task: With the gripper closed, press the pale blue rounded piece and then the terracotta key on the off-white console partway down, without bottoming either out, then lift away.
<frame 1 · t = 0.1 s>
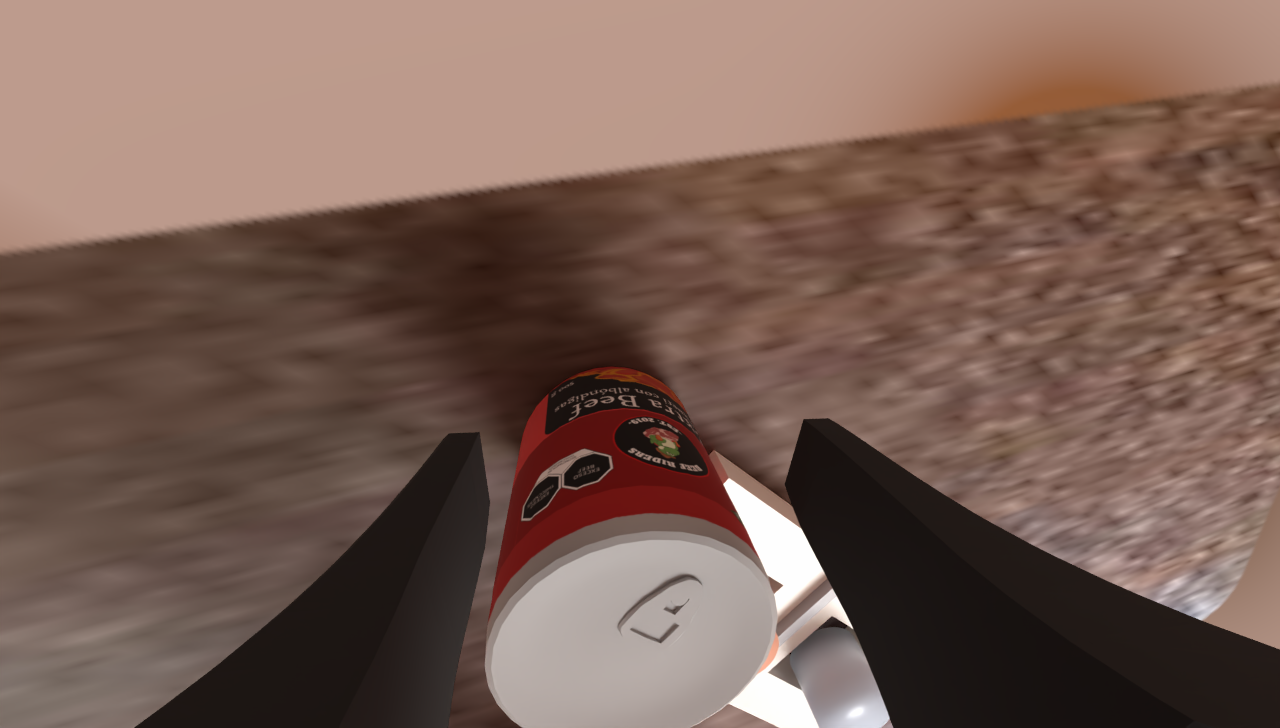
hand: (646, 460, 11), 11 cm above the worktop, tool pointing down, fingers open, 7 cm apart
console: (758, 594, 27), on the worktop
canned food: (605, 435, 23), on the worktop
key terracotta: (723, 618, 23), point 4 cm above the worktop, slide at 0.0 cm
pale blue rounded piece: (838, 682, 26), point 4 cm above the worktop, slide at 0.0 cm
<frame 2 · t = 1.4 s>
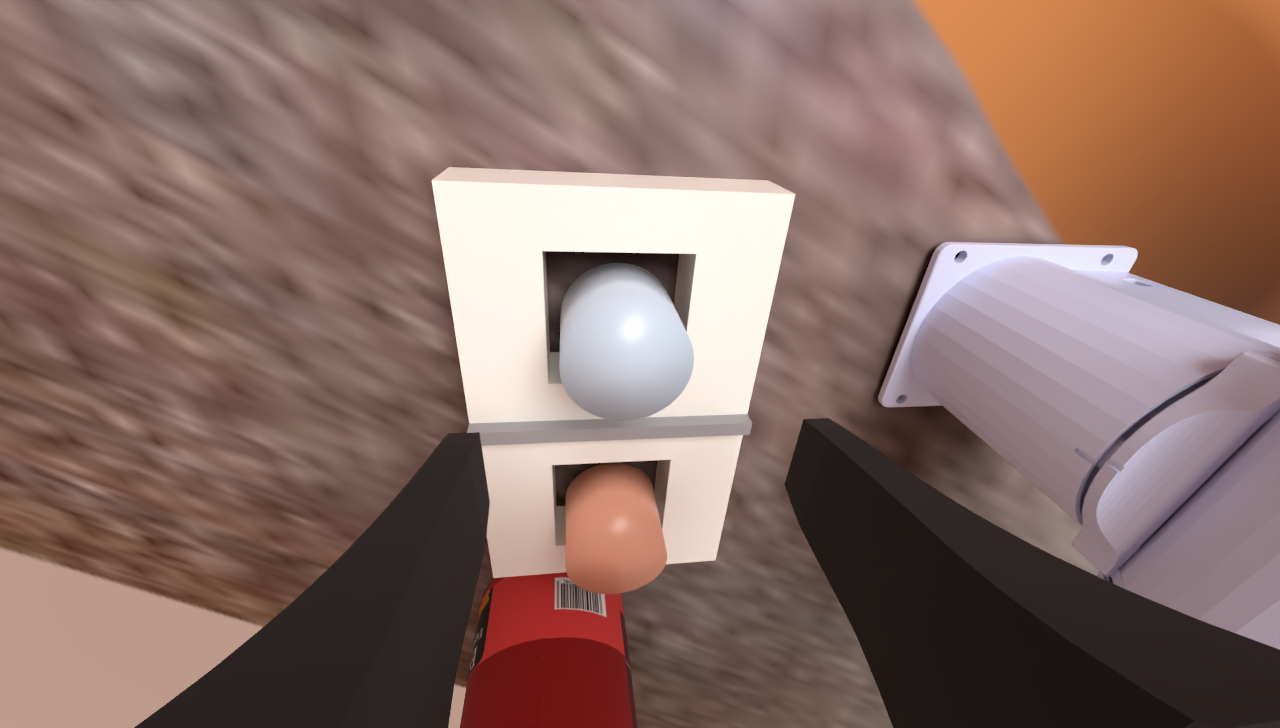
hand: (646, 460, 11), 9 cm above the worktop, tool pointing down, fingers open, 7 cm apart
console: (609, 390, 21), on the worktop
canned food: (552, 590, 28), on the worktop
key terracotta: (613, 527, 20), point 4 cm above the worktop, slide at 0.0 cm
pale blue rounded piece: (621, 339, 15), point 4 cm above the worktop, slide at 0.0 cm
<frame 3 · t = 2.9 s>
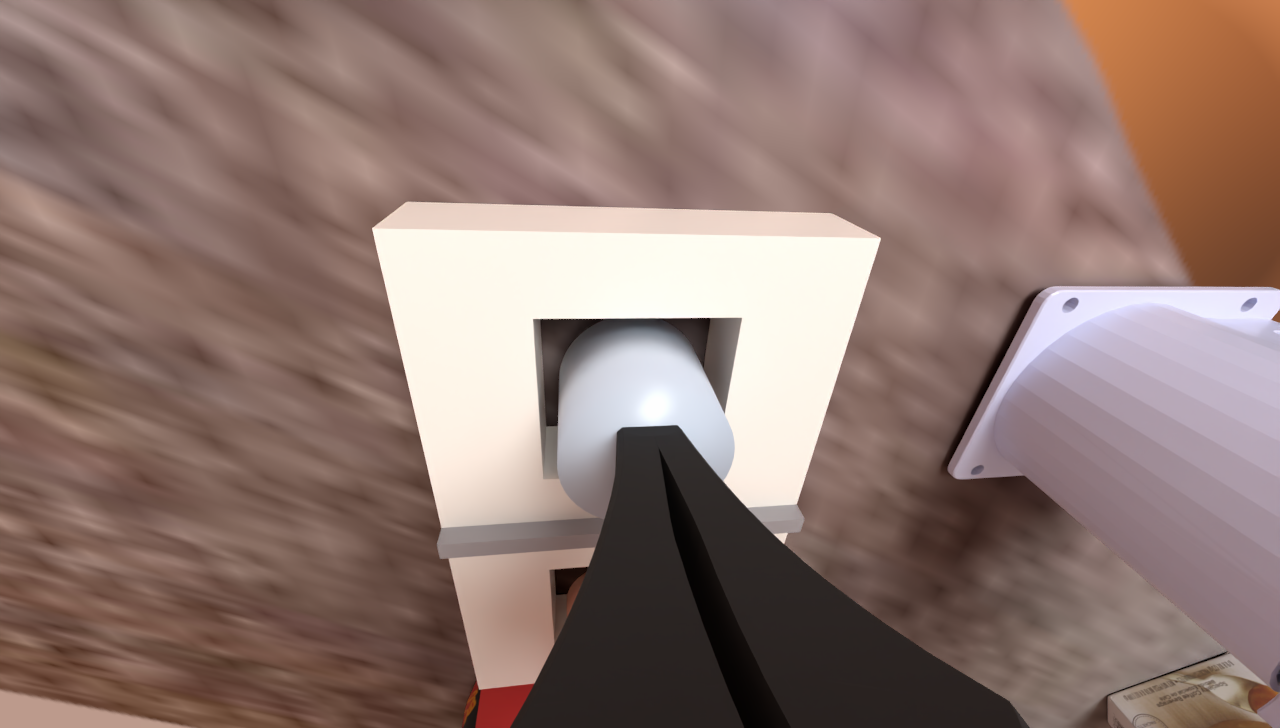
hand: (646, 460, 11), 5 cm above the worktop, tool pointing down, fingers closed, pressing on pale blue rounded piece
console: (620, 468, 17), on the worktop
coffee box: (1162, 684, 36), on the worktop
canned food: (552, 679, 24), on the worktop
key terracotta: (626, 643, 16), point 4 cm above the worktop, slide at 0.0 cm
pale blue rounded piece: (637, 414, 12), point 3 cm above the worktop, slide at 0.8 cm, touching gripper
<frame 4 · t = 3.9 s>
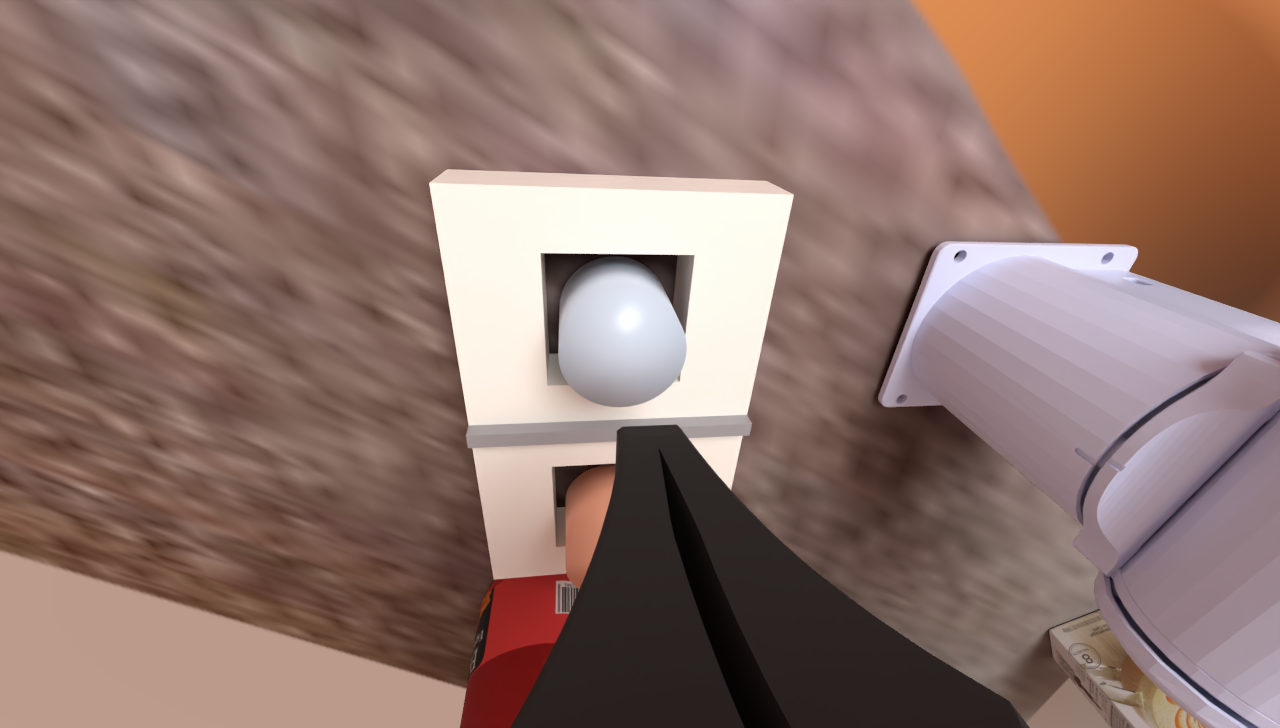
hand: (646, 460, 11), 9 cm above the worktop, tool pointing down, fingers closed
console: (608, 392, 21), on the worktop
coffee box: (1099, 621, 40), on the worktop
canned food: (553, 591, 28), on the worktop
key terracotta: (613, 528, 20), point 4 cm above the worktop, slide at 0.0 cm
pale blue rounded piece: (618, 329, 16), point 3 cm above the worktop, slide at 0.8 cm
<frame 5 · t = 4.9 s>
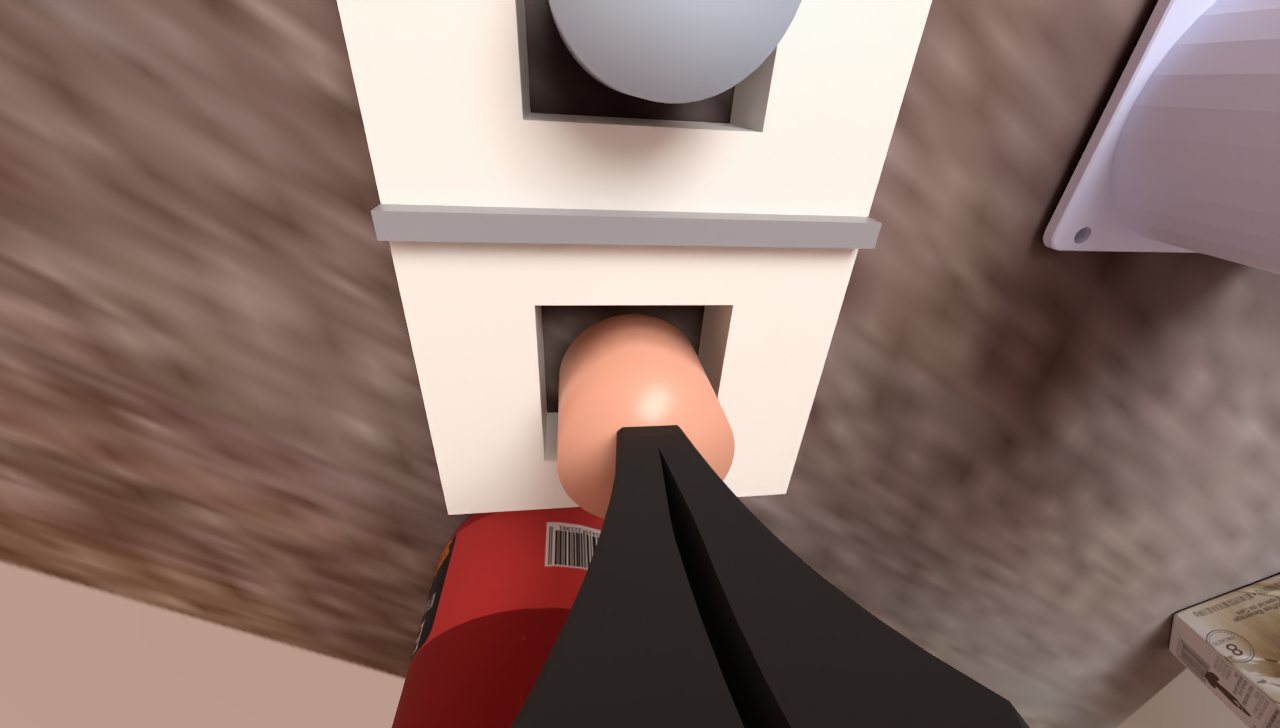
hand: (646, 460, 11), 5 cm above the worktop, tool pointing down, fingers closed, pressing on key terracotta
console: (629, 201, 13), on the worktop
coffee box: (1233, 603, 32), on the worktop
canned food: (544, 548, 20), on the worktop
key terracotta: (637, 414, 12), point 4 cm above the worktop, slide at 0.1 cm, touching gripper
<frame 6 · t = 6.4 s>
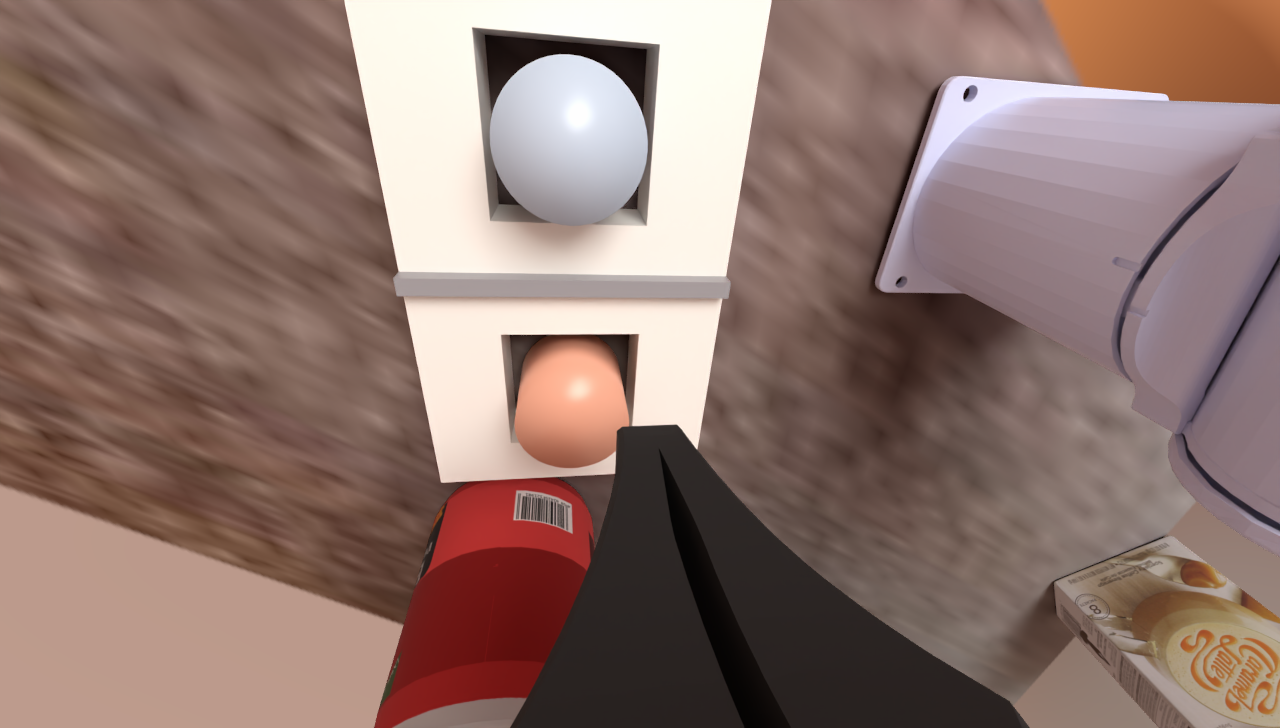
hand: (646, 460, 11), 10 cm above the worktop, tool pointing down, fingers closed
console: (570, 259, 18), on the worktop
coffee box: (1106, 574, 38), on the worktop
canned food: (516, 516, 25), on the worktop
key terracotta: (572, 397, 18), point 3 cm above the worktop, slide at 0.8 cm
pale blue rounded piece: (569, 139, 14), point 3 cm above the worktop, slide at 0.8 cm
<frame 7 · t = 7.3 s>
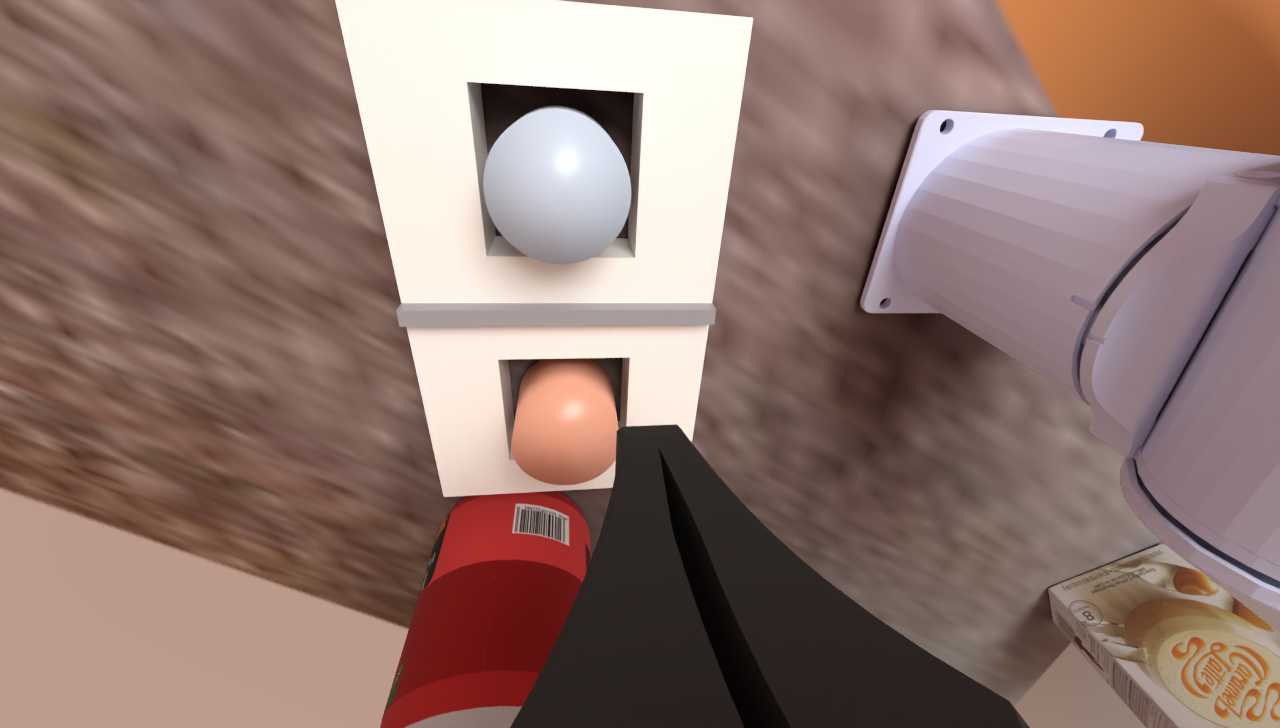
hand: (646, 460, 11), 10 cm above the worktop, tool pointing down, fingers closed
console: (564, 286, 19), on the worktop
coffee box: (1101, 580, 38), on the worktop
canned food: (517, 525, 26), on the worktop
key terracotta: (566, 417, 19), point 3 cm above the worktop, slide at 0.8 cm
pale blue rounded piece: (559, 182, 14), point 3 cm above the worktop, slide at 0.8 cm
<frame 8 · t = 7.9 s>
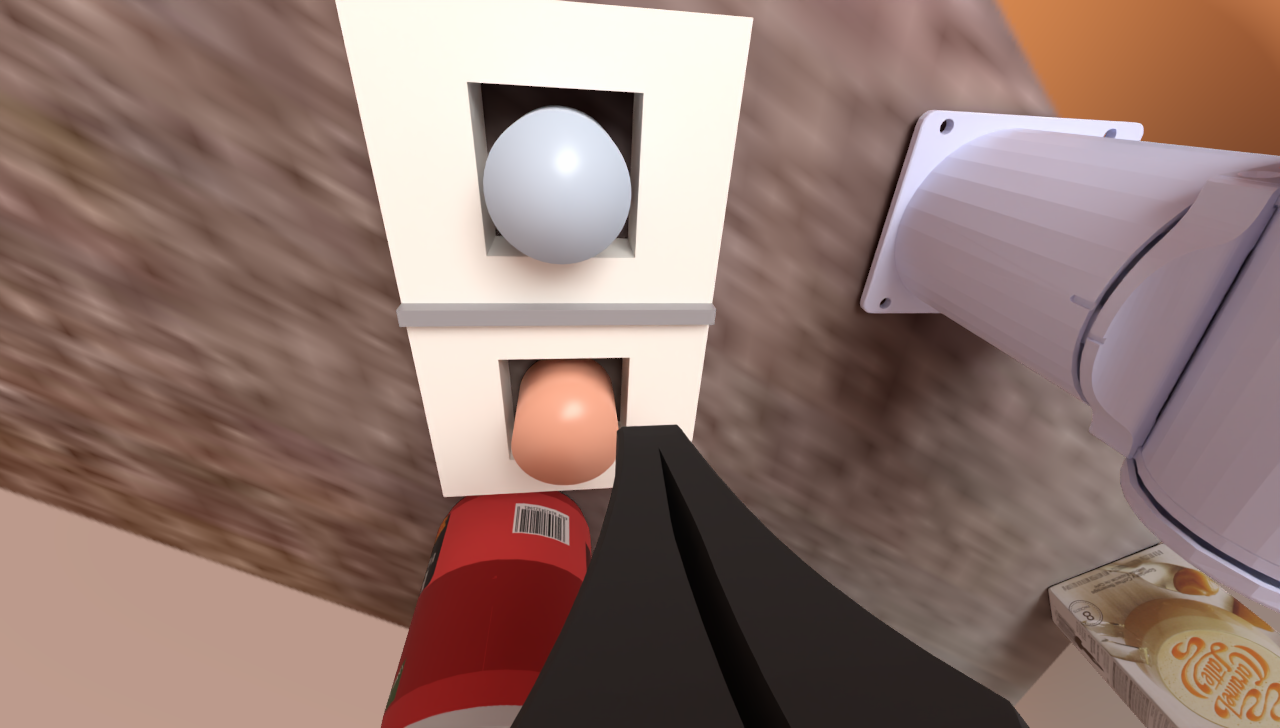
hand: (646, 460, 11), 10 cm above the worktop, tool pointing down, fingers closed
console: (564, 286, 19), on the worktop
coffee box: (1101, 580, 38), on the worktop
canned food: (517, 525, 26), on the worktop
key terracotta: (566, 417, 19), point 3 cm above the worktop, slide at 0.8 cm
pale blue rounded piece: (559, 182, 14), point 3 cm above the worktop, slide at 0.8 cm
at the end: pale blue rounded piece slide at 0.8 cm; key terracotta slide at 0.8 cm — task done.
